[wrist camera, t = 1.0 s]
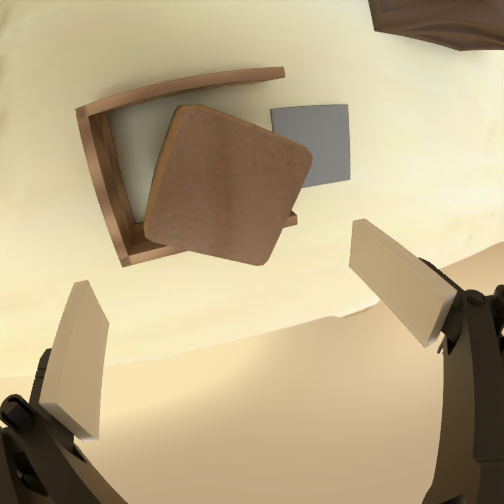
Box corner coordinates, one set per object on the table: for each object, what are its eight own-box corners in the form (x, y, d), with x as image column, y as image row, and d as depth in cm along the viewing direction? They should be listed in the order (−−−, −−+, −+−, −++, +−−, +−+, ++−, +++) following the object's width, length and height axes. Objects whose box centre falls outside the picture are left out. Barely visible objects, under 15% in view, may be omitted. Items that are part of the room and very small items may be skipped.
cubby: (96, 107, 29) (75, 109, 21) (258, 73, 32) (283, 66, 25) (130, 233, 38) (122, 267, 31) (272, 199, 42) (297, 224, 34)
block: (249, 127, 36) (322, 154, 19) (222, 194, 39) (267, 273, 23) (177, 103, 32) (185, 99, 15) (152, 175, 35) (139, 245, 19)
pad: (270, 109, 35) (271, 109, 35) (345, 104, 37) (347, 104, 37) (278, 190, 41) (280, 192, 41) (348, 178, 43) (350, 179, 43)
